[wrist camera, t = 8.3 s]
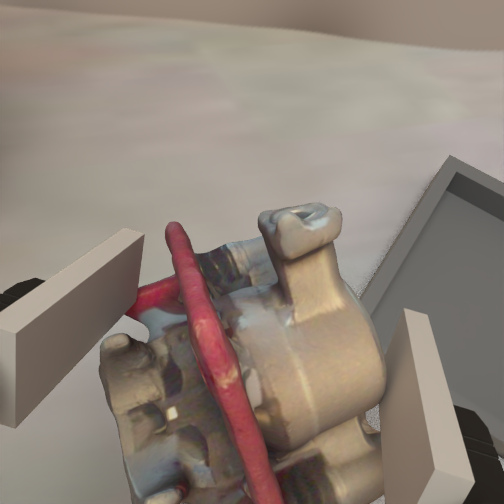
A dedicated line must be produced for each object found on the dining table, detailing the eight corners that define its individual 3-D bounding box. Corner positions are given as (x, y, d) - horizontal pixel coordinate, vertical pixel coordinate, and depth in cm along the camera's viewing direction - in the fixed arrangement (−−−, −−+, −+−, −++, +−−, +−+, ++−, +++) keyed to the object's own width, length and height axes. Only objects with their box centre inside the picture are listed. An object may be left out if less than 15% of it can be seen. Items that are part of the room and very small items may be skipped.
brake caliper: (10, 313, 18) (143, 79, 10) (230, 286, 25) (404, 140, 17) (84, 661, 14) (399, 727, 6) (318, 506, 21) (593, 446, 13)
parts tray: (330, 345, 32) (338, 336, 29) (433, 178, 37) (449, 154, 34) (553, 491, 29) (590, 498, 26) (634, 286, 33) (672, 271, 30)
